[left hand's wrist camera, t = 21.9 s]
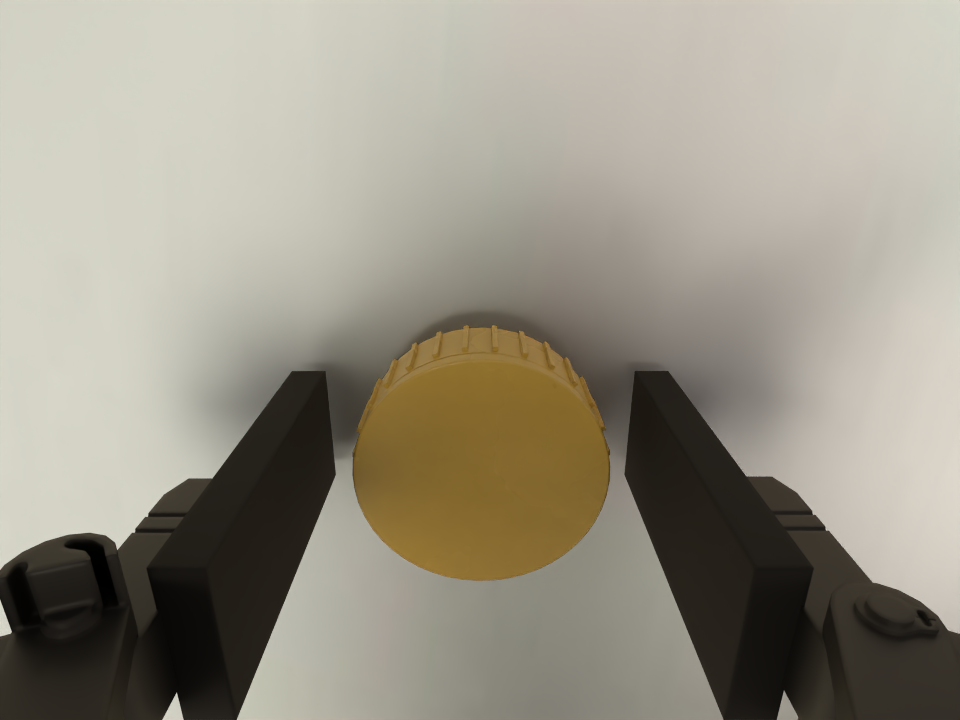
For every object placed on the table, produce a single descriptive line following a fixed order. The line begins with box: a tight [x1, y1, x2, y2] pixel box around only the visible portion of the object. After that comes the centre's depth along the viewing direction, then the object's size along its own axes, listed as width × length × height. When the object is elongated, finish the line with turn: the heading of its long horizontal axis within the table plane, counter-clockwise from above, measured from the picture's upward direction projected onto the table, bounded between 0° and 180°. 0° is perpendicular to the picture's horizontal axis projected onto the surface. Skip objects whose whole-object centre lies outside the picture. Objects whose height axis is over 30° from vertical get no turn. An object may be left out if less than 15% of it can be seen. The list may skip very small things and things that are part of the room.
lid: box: [353, 325, 610, 581], centre depth 13 cm, size 5×5×2 cm
